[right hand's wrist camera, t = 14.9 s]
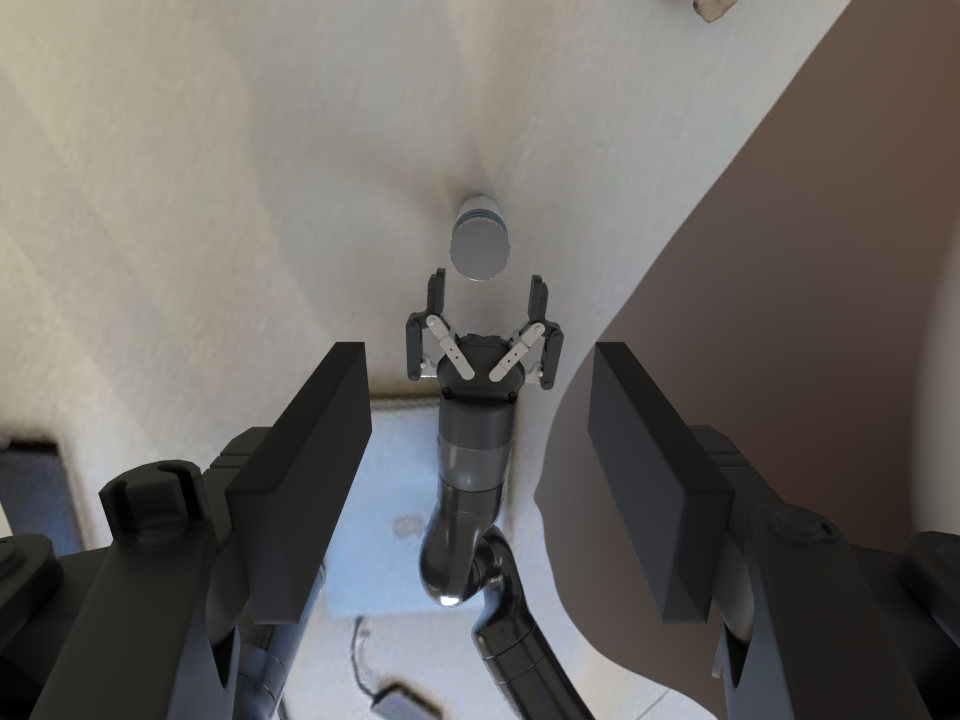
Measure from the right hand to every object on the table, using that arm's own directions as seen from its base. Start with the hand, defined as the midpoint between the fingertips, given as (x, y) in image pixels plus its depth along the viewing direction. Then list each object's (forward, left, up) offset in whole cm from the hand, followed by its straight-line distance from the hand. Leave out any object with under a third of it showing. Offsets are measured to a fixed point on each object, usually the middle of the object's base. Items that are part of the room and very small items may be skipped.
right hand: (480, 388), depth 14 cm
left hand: (+3, +3, -33) cm, 33 cm away
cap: (0, 0, -21) cm, 21 cm away
